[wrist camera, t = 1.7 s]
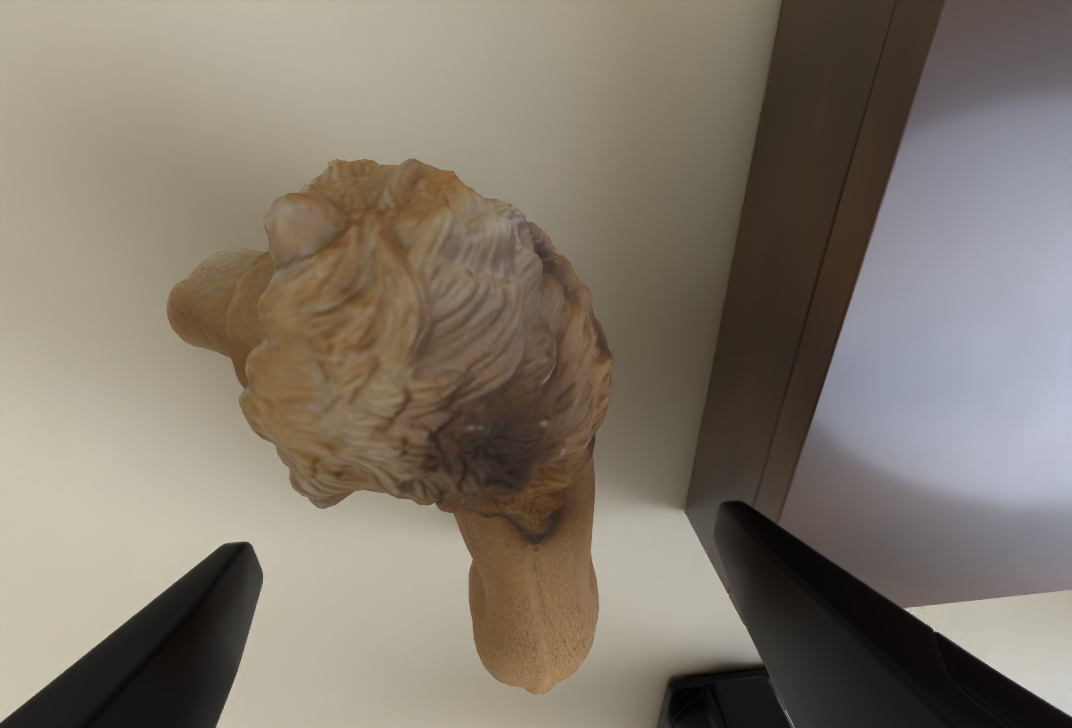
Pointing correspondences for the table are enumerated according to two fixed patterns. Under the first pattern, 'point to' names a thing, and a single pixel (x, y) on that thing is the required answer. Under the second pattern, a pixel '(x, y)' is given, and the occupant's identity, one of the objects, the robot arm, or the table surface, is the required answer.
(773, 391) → the shelf
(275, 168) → the table surface
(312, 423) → the lion figurine
